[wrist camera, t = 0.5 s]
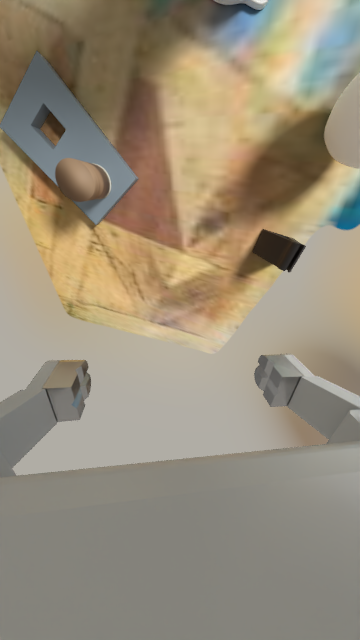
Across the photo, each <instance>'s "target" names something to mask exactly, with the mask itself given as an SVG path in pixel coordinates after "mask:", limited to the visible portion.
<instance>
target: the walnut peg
mask: <svg viewBox="0 0 360 640" xmlns="http://www.w3.org/2000/svg"><path fill="white" fill-rule="evenodd" d="M55 178H56V182H57V185H58V187H59V188H60V190H61V191H62V193H63V194H64V195H65V196H66V197H68V198H69V199H71V200H73V201H76V202H83V201H89V200H95V199H104V198H106V197H107V196H108V195H109V193H110V191H111V180H110V177H109V175H108V173H107V171H106V170H105V169H104V168H103V167H101V166H100V165H97V164H94V163H88V162H84V161H80V160H76V159H72V158H65V159H62V160H61V161H60V162H59V163H58V164H57V166H56V169H55Z"/></svg>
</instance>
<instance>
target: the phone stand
mask: <svg viewBox="0 0 360 640" xmlns="http://www.w3.org/2000/svg"><path fill="white" fill-rule="evenodd" d="M305 247H306V246H305V245H302V244H300V243H299V242H298V241H296V240H295V239H293V238H290V237H286V236H283V235H280V234H277V233H274V232H271V231H267V230H264V229H263V231H262V233H261V235H260V237H259V239H258V241H257V243H256V246H255V248H254V250H253V253H255V254H256V255H258V256H260V257H262V258H263V259H265V260H267V261H268V262H270V263H272V264H274V265H275V266H277V267H278V268H279V269H281V270H283V271H285V270H288V272H291V270H292V268H293V267H294V265H295V263H296V262H297V260H298V258H299V257H300V255H301V254H302V252H303V250H304V249H305Z"/></svg>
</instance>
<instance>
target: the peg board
mask: <svg viewBox="0 0 360 640" xmlns="http://www.w3.org/2000/svg"><path fill="white" fill-rule="evenodd" d="M50 111H51V112H52V113H53V115H54V116H55V117H56V118H57V119H58V121H59V122H60V123H61V124H62V125H63V126H64V128H65V129H66V131H65V132H64V134H63V136H62V137H61V139H60V140H59V142H58V143H57V145H56V146H55V145H54V144H53V143H52V142H51V141H50V140H49V139H48V137H47V136H46V135H45V134H44V133H43V132H42V131H41V130H40V128H41V126H42V125H43V123H44V121H45V120H46V118H47V116H48V114H49V113H50ZM0 128H1V129H2V130H3V131H4V132H5V133H6V134H7V135H8V136H9V137H10V138H11V139H12V140H13V141H14V142H15V143H16V144H17V145H18V146H19V147H20V148H21V149H22V150H23V151H24V152H25V153H26V154H27V155H28V156H29V157H30V158H31V159H32V160H33V161H34V162H35V163H36V164H37V165H38V166H39V167H40V168H41V169H42V171H43V172H44V173H45V174H46V175H47V176H48V177H49V178H50V179H51V180H52V181H53V182H54V183H55V184H56V185H57V182H56V178H55V169H56V166H57V164H58V163H59V162H60V161H61V160H62V159H65V158H72V159H76V160H80V161H84V162H88V163H94V164H97V165H100V166H101V167H103V168H104V169H105V170H106V171H107V173H108V175H109V177H110V180H111V183H112V184H111V191H110V193H109V195H108V196H107V197H106V198H104V199H95V200H89V201H83V202H76V201H73V200H72V201H73V202H74V203H75V204H76V205H77V206H78V207H79V208H80V209H81V210H82V211H83V212H84V213H85V214H86V215H87V216H88V217H89V218H90V219H91V220H92V221H93V222H94V223H95V224H96V225H97V224H99V223H100V222H101V221H102V220H103V219H104V218H105V217H106V215H107V214H108V213H109V212H110V211H111V210H112V209H113V207H114V206H115V205H116V204H117V203H118V202H119V201H120V200H121V198H122V197H123V196H124V195H125V194H126V193H127V192H128V190H129V189H130V188H131V187H132V186H133V185H134V184H135V182H136V181H137V180H138V177H137V176H136V175H135V174H134V172H133V171H132V170H131V168H130V167H129V166H128V164H127V163H126V162H125V161H124V159H123V158H122V157H121V155H120V154H119V153H118V152H117V150H116V149H115V148H114V146H113V145H112V144H111V142H110V141H109V140H108V139H107V137H106V136H105V135H104V133H103V132H102V131H101V130H100V128H99V127H98V126H97V124H96V123H95V122H94V120H93V119H92V118H91V117H90V115H89V114H88V113H87V111H86V110H85V109H84V108H83V106H82V105H81V104H80V102H79V101H78V100H77V99H76V97H75V96H74V95H73V93H72V92H71V91H70V89H69V88H68V87H67V86H66V84H65V83H64V82H63V80H62V79H61V78H60V77H59V75H58V74H57V73H56V71H55V70H54V69H53V67H52V66H51V65H50V64H49V62H48V61H47V60H46V59H45V58H44V57H43V56H42V55H41V54H40V53H39V52H38V51H36V53H35V55H34V57H33V59H32V61H31V63H30V65H29V67H28V69H27V71H26V73H25V75H24V77H23V79H22V81H21V83H20V86H19V88H18V90H17V92H16V94H15V96H14V98H13V100H12V102H11V104H10V106H9V108H8V110H7V112H6V114H5V116H4V118H3V120H2V122H1V124H0ZM57 186H58V185H57Z"/></svg>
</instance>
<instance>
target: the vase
mask: <svg viewBox="0 0 360 640" xmlns="http://www.w3.org/2000/svg"><path fill="white" fill-rule="evenodd" d="M324 140H325V144H326V147H327V150H328V151H329V153H330V155H331V156H332V157H333V158H334V159H335V160H336V161H338V162H340V163H342V164H344V165H347V166H350V167H353V168H360V72H359V73H358V74H357V75H356V77H355V78H354V79H353V80H352V81H351V82H350V83H349V85H348V86H347V87H346V88H345V90H344V91H343V92H342V94H341V95H340V97H339V98H338V100H337V102H336V103H335V105H334V107H333V109H332V111H331V114H330V116H329V118H328V121H327V123H326V126H325V131H324Z"/></svg>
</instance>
